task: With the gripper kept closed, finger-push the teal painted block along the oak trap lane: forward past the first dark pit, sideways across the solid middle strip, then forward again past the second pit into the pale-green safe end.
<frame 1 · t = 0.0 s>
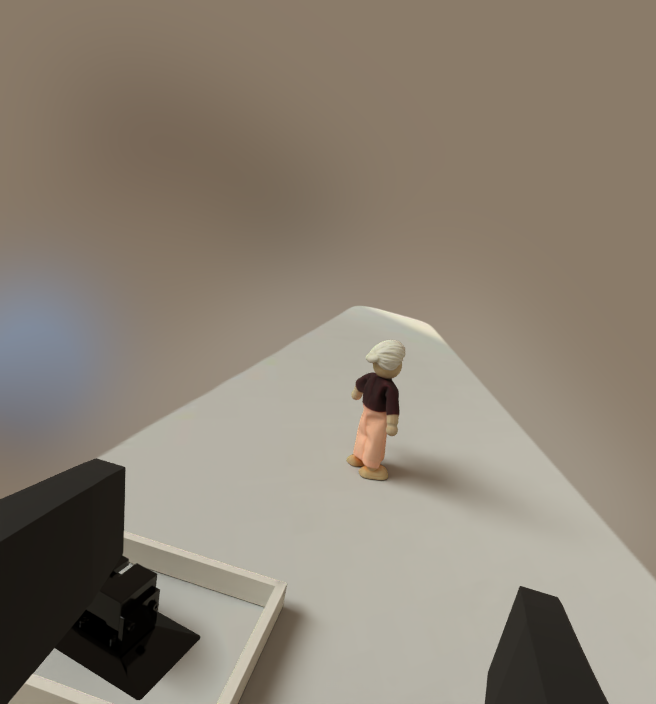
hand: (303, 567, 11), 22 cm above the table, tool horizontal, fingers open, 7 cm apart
black angular piece: (109, 640, 36), on the table
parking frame: (109, 629, 36), on the table
grandmother figurine: (363, 466, 60), on the table
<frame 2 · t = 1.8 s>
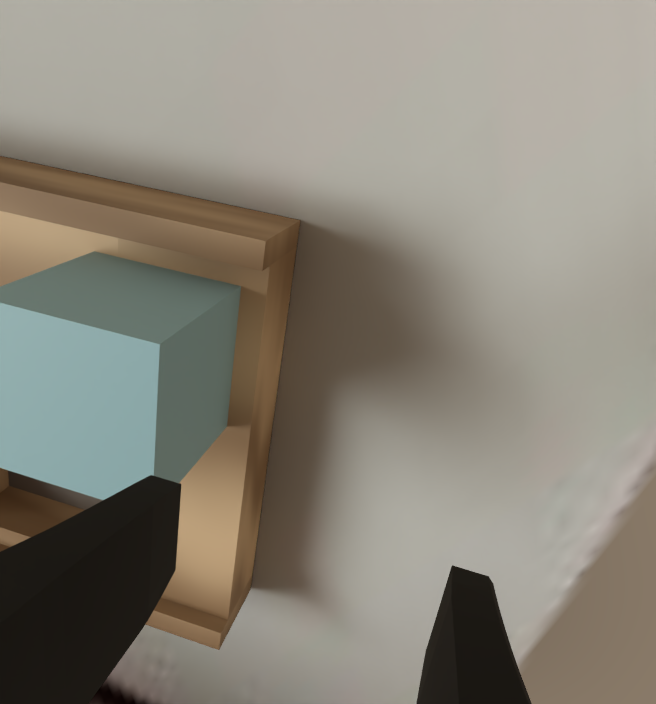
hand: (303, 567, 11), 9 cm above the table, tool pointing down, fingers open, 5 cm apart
teal block: (162, 341, 18), point 2 cm above the table, touching trap lane
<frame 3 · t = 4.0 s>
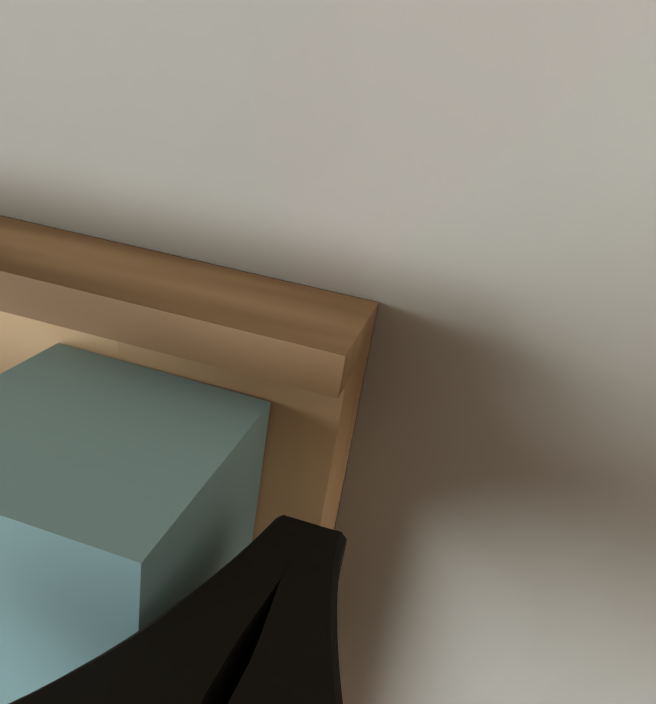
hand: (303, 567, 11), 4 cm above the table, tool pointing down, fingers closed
teal block: (156, 468, 13), point 2 cm above the table, touching gripper, trap lane
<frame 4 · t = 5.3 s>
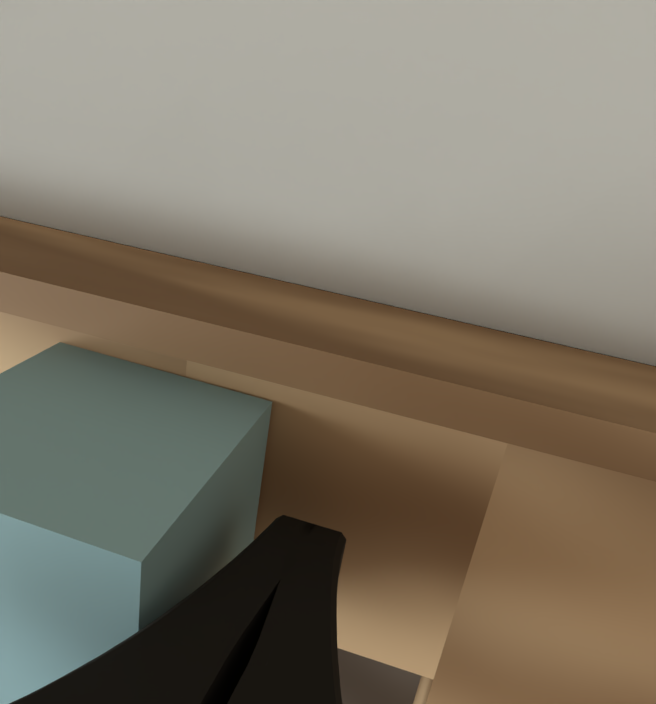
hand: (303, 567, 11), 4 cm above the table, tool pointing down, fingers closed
teal block: (157, 467, 13), point 2 cm above the table, touching gripper, trap lane
trap lane: (145, 515, 17), on the table
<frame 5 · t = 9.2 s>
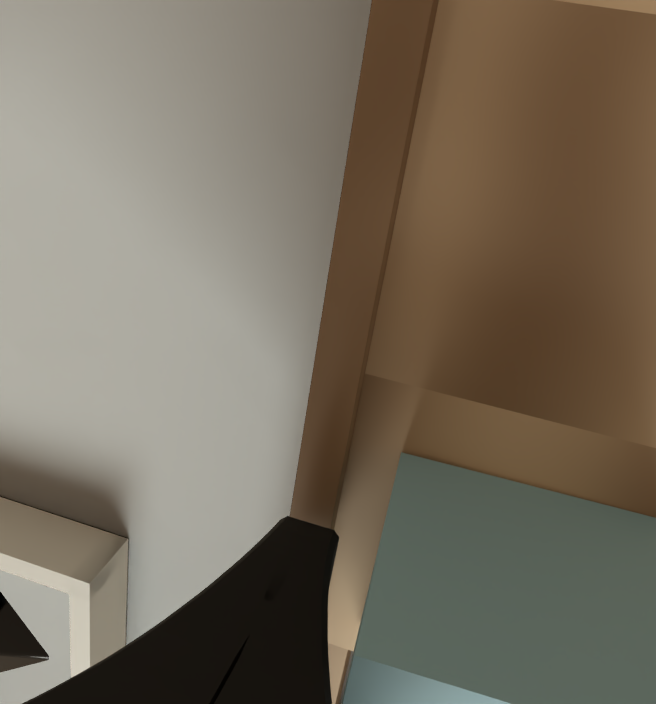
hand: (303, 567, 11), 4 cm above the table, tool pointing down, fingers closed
teal block: (494, 582, 12), point 2 cm above the table, touching gripper
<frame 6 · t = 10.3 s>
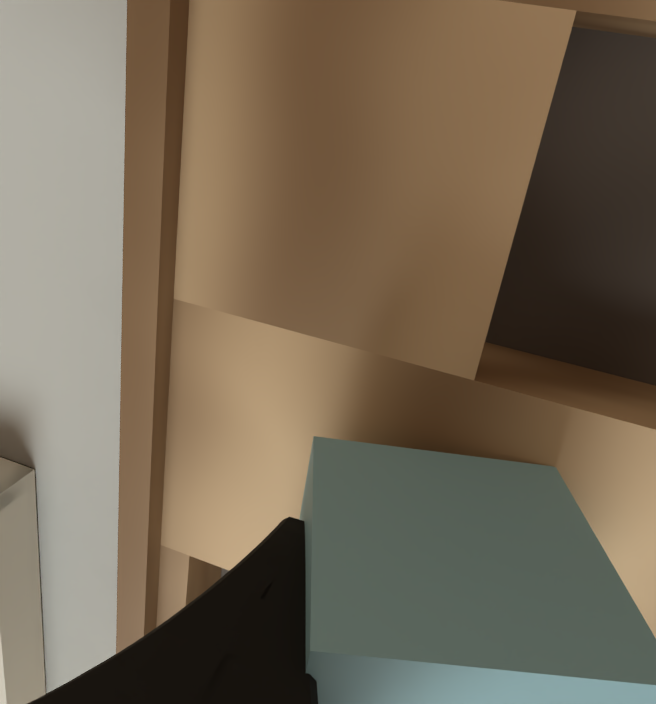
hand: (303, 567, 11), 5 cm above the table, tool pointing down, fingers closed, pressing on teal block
teal block: (410, 547, 12), point 3 cm above the table, tilted 19°, touching gripper, trap lane
trap lane: (476, 420, 14), on the table
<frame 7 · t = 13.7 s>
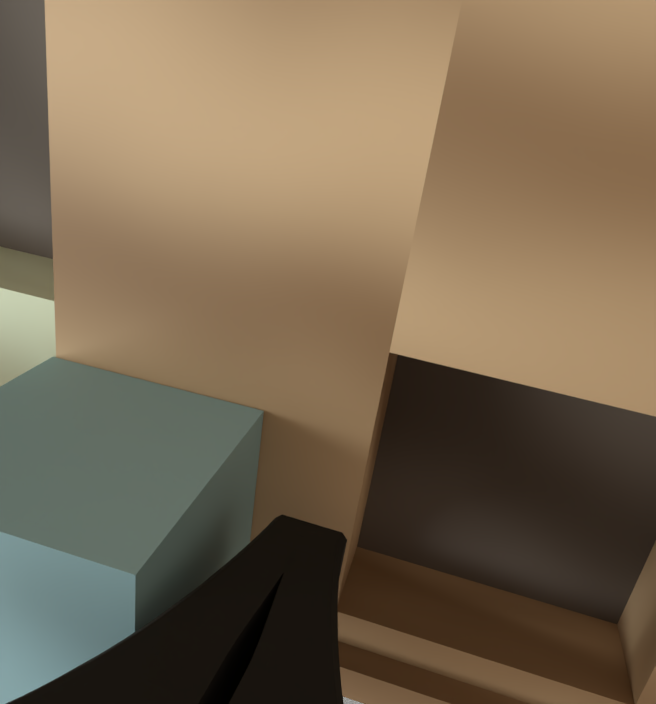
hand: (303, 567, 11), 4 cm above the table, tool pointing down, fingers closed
teal block: (152, 478, 13), point 2 cm above the table, touching gripper
trap lane: (313, 301, 13), on the table
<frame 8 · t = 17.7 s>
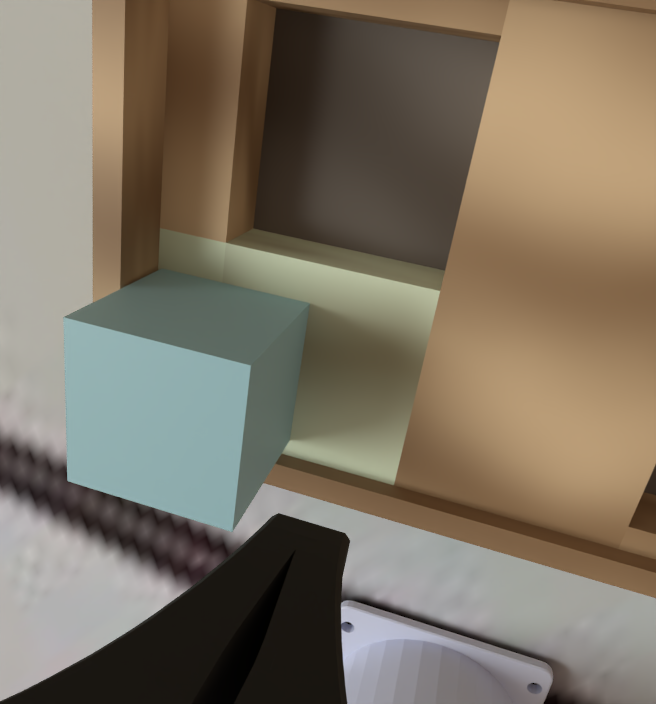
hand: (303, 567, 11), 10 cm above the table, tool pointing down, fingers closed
teal block: (227, 356, 19), point 2 cm above the table, touching trap lane
trap lane: (609, 293, 18), on the table
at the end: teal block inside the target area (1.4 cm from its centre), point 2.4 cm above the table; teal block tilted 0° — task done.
